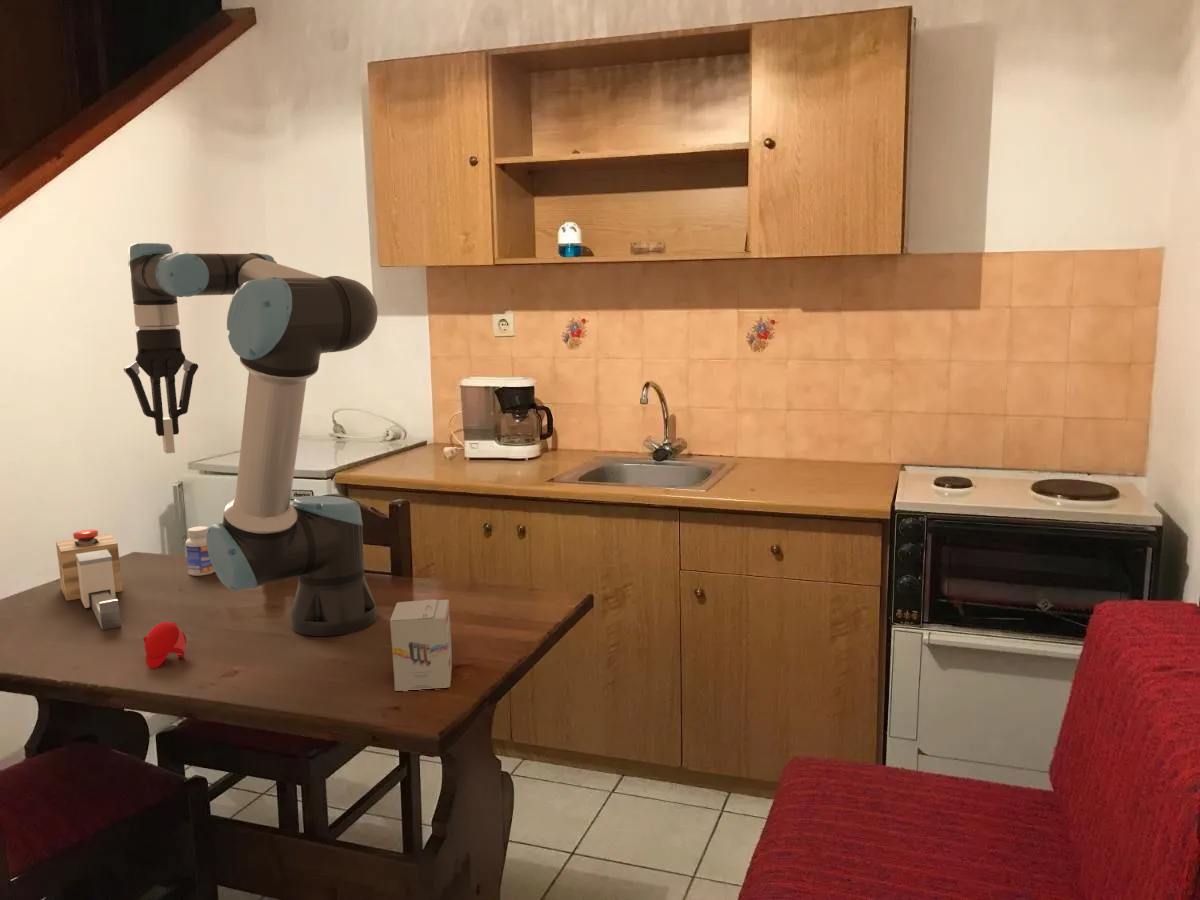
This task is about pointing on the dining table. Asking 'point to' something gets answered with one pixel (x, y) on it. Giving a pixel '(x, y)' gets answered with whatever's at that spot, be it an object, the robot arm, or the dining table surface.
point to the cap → (163, 643)
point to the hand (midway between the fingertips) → (169, 451)
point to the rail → (105, 609)
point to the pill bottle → (198, 552)
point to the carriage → (95, 574)
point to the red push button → (85, 537)
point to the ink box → (421, 645)
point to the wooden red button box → (69, 563)
